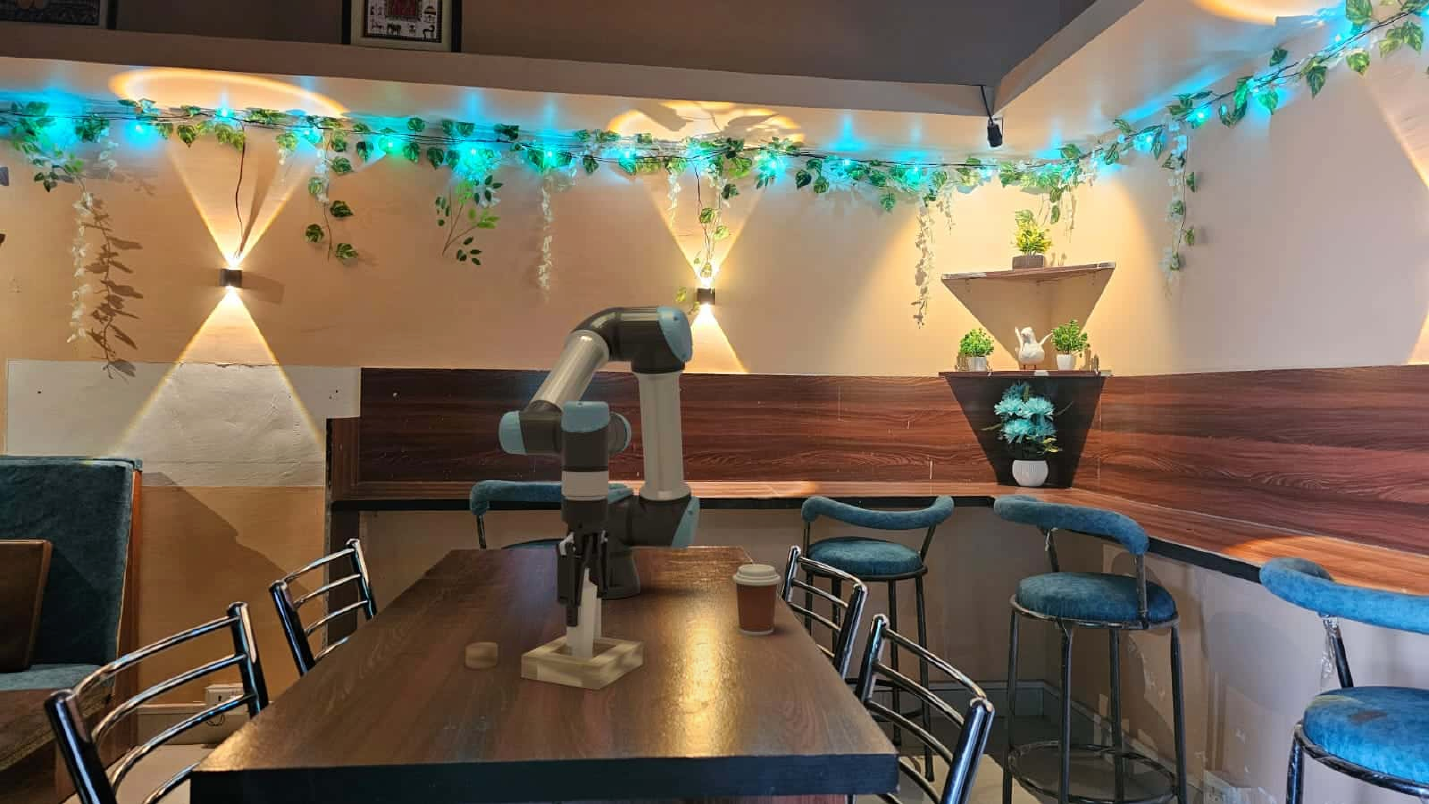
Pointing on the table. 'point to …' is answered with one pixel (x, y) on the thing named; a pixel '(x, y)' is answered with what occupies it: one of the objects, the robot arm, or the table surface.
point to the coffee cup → (756, 598)
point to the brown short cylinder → (481, 655)
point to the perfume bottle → (587, 617)
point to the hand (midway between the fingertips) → (583, 641)
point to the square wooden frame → (582, 663)
